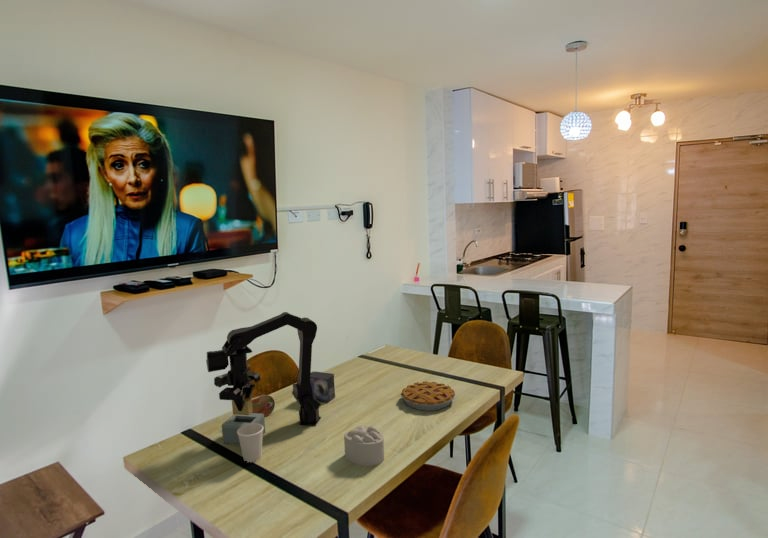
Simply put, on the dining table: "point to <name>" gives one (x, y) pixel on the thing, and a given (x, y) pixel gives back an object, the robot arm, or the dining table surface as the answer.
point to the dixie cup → (251, 441)
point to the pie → (428, 396)
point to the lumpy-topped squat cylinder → (364, 446)
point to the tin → (263, 405)
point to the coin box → (236, 422)
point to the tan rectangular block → (246, 408)
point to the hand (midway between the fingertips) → (242, 408)
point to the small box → (322, 386)
